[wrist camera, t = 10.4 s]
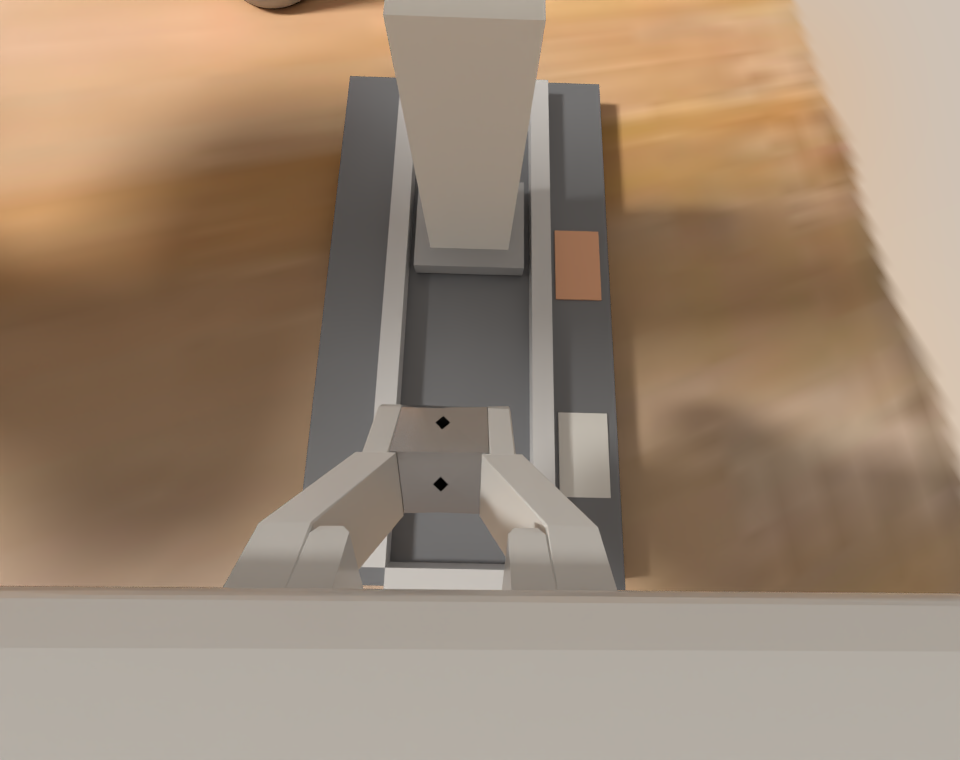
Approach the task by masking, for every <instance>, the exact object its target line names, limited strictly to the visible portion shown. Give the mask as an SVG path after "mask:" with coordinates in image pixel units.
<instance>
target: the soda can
mask: <svg viewBox="0 0 960 760" xmlns="http://www.w3.org/2000/svg"><path fill="white" fill-rule="evenodd" d="M245 1H246V2H248V3H250V4H252V5H255V6H258V7H263V8H282V7H287V6H290V5H293V4H295V3H297V2H299V1H301V0H245Z"/></svg>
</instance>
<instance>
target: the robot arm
mask: <svg viewBox="0 0 960 760" xmlns="http://www.w3.org/2000/svg"><path fill="white" fill-rule="evenodd" d="M438 512H442V513H468V514H480V515H479V516H480V517H481V519H482V520H483V522H484V524H485V525H486V527H487V528H488V530H489V531H490V533H491V535H492V536H493V538H494V539H495V541H496V542H497V544H498V546H499V547H500V549H501V550H502V552H503V553H504V555H505V557H506V558H505V567H504V575H503V584H502V590H447V589H363V586H362V582H361V578H360V574H359V569H360V568H361V566H362V565H363V564H364V563H365V562H366V560H367V559H368V558H369V557H370V556H371V554H372V553H373V552H374V551H375V549H376V548H377V547H378V546H379V545H380V543H381V542H382V541H383V540H384V539H385V537H386V536H387V535H388V534H389V533H390V531H391V530H392V529H393V528H394V526H395V525H396V524H397V523H398V522H399V520H400V519H401V518H402V517H403V516H404V514H403V513H438ZM0 760H960V593H855V592H731V591H617V588H616V585H615V581H614V578H613V575H612V571H611V568H610V565H609V562H608V558H607V555H606V552H605V548H604V545H603V542H602V539H601V535H600V532H599V529H598V527H597V526H596V525H595V524H594V523H593V522H592V521H591V520H590V519H589V518H588V517H587V516H586V515H585V514H584V513H583V512H582V511H581V510H579V509H578V508H577V507H576V506H575V505H574V504H573V503H572V502H571V501H570V500H569V499H568V498H567V497H566V496H565V495H564V494H563V493H562V492H561V491H560V490H559V489H558V488H557V487H556V486H555V485H553V484H552V483H551V482H550V481H549V480H548V479H547V478H546V477H545V476H544V475H543V474H542V473H541V472H540V471H539V470H538V469H537V468H536V467H535V466H534V465H533V464H532V463H531V462H530V461H528V460H527V459H526V458H525V457H524V456H523V455H522V454H516V453H515V445H514V437H513V428H512V420H511V412H510V408H509V407H508V406H488V407H446V406H429V405H404V404H403V405H401V404H381V405H380V406H379V407H378V409H377V412H376V415H375V418H374V421H373V423H372V426H371V429H370V432H369V435H368V437H367V440H366V443H365V446H364V449H363V451H362V452H355V453H353V454H352V455H351V456H349V457H348V458H347V459H345V460H344V461H343V462H341V463H340V464H338V465H337V466H336V467H334V468H333V469H332V470H330V471H329V472H328V473H326V474H325V475H323V476H322V477H321V478H319V479H318V480H317V481H315V482H314V483H312V484H311V485H310V486H308V487H307V488H306V489H304V490H303V491H302V492H300V493H299V494H297V495H296V496H295V497H293V498H292V499H291V500H289V501H288V502H287V503H285V504H284V505H282V506H281V507H280V508H278V509H277V510H276V511H274V512H273V513H272V514H270V515H269V516H267V517H266V518H265V519H263V520H262V521H261V522H259V524H258V525H257V527H256V529H255V531H254V533H253V534H252V536H251V538H250V540H249V541H248V543H247V545H246V547H245V549H244V550H243V552H242V554H241V556H240V558H239V559H238V561H237V563H236V565H235V567H234V568H233V570H232V572H231V574H230V576H229V577H228V579H227V581H226V583H225V584H224V586H223V588H209V587H82V586H0Z"/></svg>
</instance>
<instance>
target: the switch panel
mask: <svg viewBox="0 0 960 760" xmlns="http://www.w3.org/2000/svg"><path fill="white" fill-rule="evenodd" d="M519 182H522V183H524V270H523V274H522V276H518V275H482V274H446V273H416V271H415V268H414V251H415V235H416V220H417V204H418V184H417V179H416V174H415V169H414V164H413V159H412V154H411V149H410V145H409V140H408V135H407V130H406V125H405V120H404V115H403V110H402V105H401V100H400V95H399V90H398V85H397V80H396V78H389V77H359V76H350V82H349V91H348V100H347V108H346V117H345V126H344V135H343V143H342V152H341V161H340V170H339V178H338V187H337V196H336V205H335V213H334V222H333V231H332V240H331V248H330V257H329V266H328V275H327V283H326V292H325V301H324V310H323V318H322V327H321V336H320V345H319V354H318V362H317V371H316V380H315V389H314V397H313V406H312V415H311V424H310V432H309V441H308V450H307V459H306V467H305V476H304V485H303V490H304V489H306V488H307V487H308V486H310V485H311V484H312V483H314V482H315V481H317V480H318V479H319V478H321V477H322V476H323V475H325V474H326V473H328V472H329V471H330V470H332V469H333V468H334V467H336V466H337V465H338V464H340V463H341V462H343V461H344V460H345V459H347V458H348V457H349V456H351V455H352V454H353V453H355V452H362V451H363V449H364V446H365V443H366V440H367V437H368V435H369V432H370V429H371V426H372V423H373V421H374V418H375V415H376V412H377V409H378V407H379V406H380V405H381V404H401V405H403V404H404V405H429V406H446V407H488V406H508V407H509V408H510V412H511V420H512V428H513V437H514V445H515V453H516V454H522V455H523V456H524V457H525V458H526V459H527V460H528V461H530V462H531V463H532V464H533V465H534V466H535V467H536V468H537V469H538V470H539V471H540V472H541V473H542V474H543V475H544V476H545V477H546V478H547V479H548V480H549V481H550V482H551V483H552V484H553V485H555V486H556V487H557V488H558V489H559V490H560V491H561V492H562V493H563V494H564V495H565V496H566V497H567V498H568V499H569V500H570V501H571V502H572V503H573V504H574V505H575V506H576V507H577V508H578V509H579V510H581V511H582V512H583V513H584V514H585V515H586V516H587V517H588V518H589V519H590V520H591V521H592V522H593V523H594V524H595V525H596V526H597V527H598V529H599V532H600V535H601V539H602V542H603V545H604V548H605V552H606V555H607V558H608V562H609V565H610V568H611V571H612V575H613V578H614V581H615V585H616V588H617V590H625V573H624V554H623V534H622V515H621V496H620V477H619V458H618V438H617V419H616V400H615V381H614V361H613V342H612V323H611V304H610V284H609V265H608V246H607V227H606V207H605V188H604V169H603V150H602V130H601V111H600V92H599V84H569V83H548V80H536V83H535V89H534V95H533V101H532V107H531V114H530V120H529V126H528V132H527V138H526V144H525V151H524V157H523V163H522V169H521V175H520V181H519ZM403 514H404V516H403V517H402V518H401V519H400V520H399V522H398V523H397V524H396V525H395V526H394V528H393V529H392V530H391V531H390V533H389V534H388V535H387V536H386V537H385V539H384V540H383V541H382V542H381V543H380V545H379V546H378V547H377V548H376V549H375V551H374V552H373V553H372V554H371V556H370V557H369V558H368V559H367V560H366V562H365V563H364V564H363V565H362V566H361V568H360V569H359V574H360V578H361V582H362V585H380V586H384V589H447V590H502V584H503V575H504V567H505V558H506V557H505V555H504V553H503V552H502V550H501V549H500V547H499V546H498V544H497V542H496V541H495V539H494V538H493V536H492V535H491V533H490V531H489V530H488V528H487V527H486V525H485V524H484V522H483V520H482V519H481V517H480V516H479V515H480V514H468V513H442V512H438V513H403Z"/></svg>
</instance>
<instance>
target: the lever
mask: <svg viewBox="0 0 960 760" xmlns="http://www.w3.org/2000/svg"><path fill="white" fill-rule="evenodd" d="M383 16H384V21H385V26H386V31H387V36H388V41H389V46H390V51H391V56H392V61H393V66H394V70H395V75H396V80H397V85H398V90H399V95H400V100H401V105H402V110H403V115H404V120H405V125H406V130H407V135H408V140H409V145H410V149H411V154H412V159H413V164H414V169H415V174H416V179H417V184H418V204H417V220H416V235H415V251H414V268H415V271H416V273H446V274H482V275H518V276H522V274H523V270H524V183H522V182H519V181H520V175H521V169H522V163H523V157H524V151H525V144H526V138H527V132H528V126H529V120H530V114H531V107H532V101H533V95H534V89H535V83H536V77H537V71H538V64H539V58H540V52H541V46H542V40H543V34H544V27H545V21H546V12H545V0H385V1H384V12H383Z"/></svg>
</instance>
